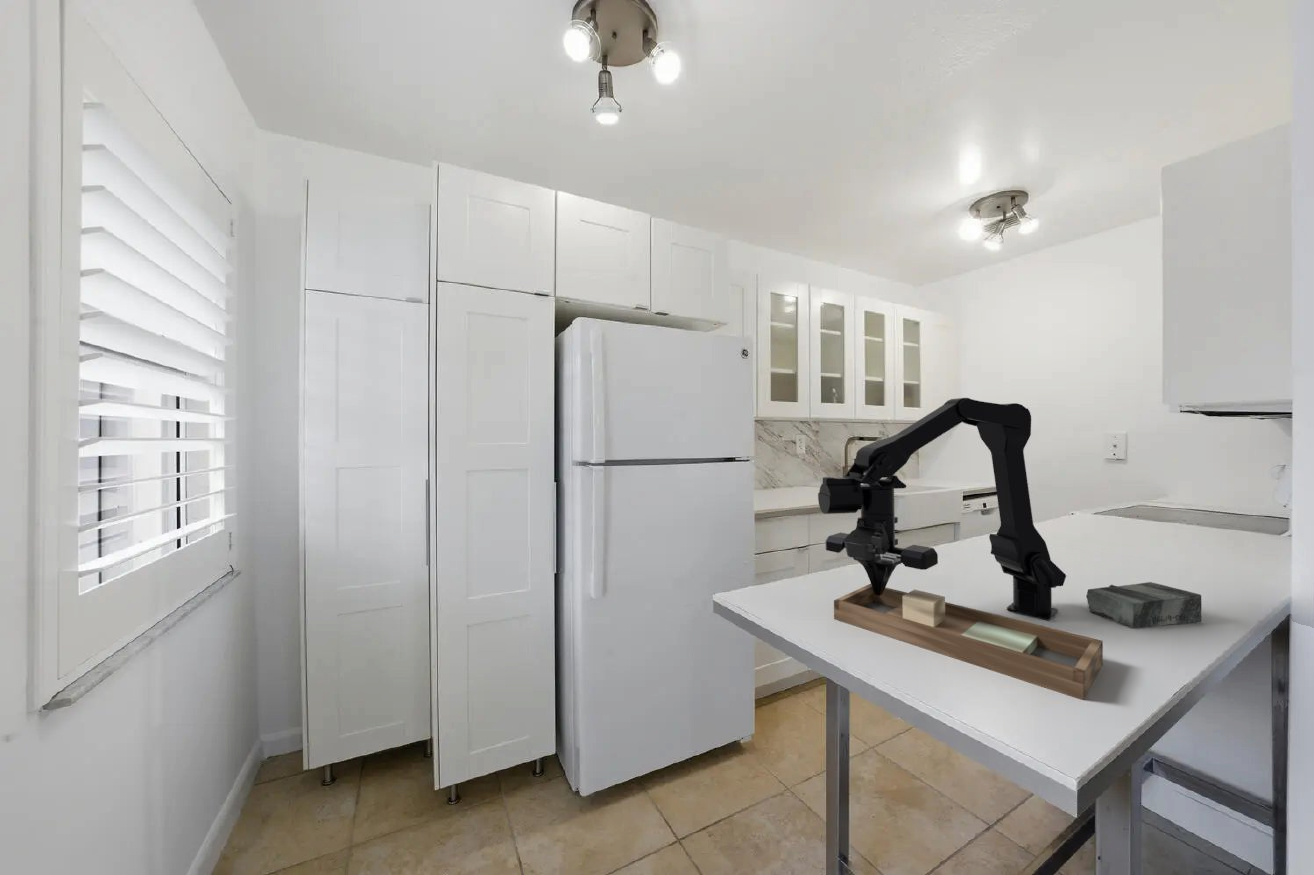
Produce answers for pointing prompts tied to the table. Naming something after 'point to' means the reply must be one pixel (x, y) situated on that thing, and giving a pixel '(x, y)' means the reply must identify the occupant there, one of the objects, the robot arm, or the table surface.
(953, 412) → the robot arm
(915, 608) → the beech block
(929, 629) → the tray
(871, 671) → the table surface
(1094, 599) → the stone block
